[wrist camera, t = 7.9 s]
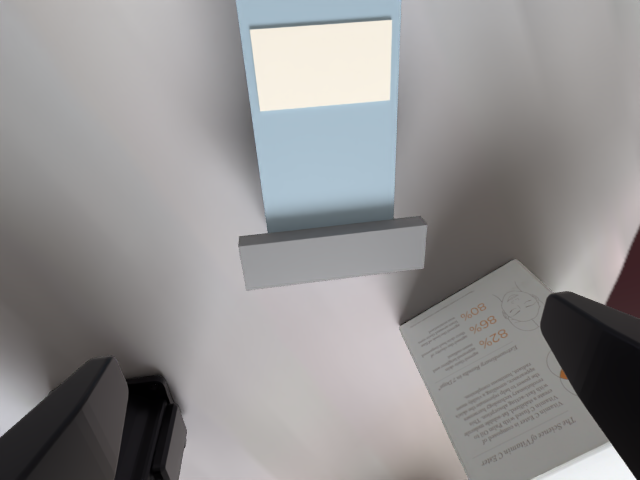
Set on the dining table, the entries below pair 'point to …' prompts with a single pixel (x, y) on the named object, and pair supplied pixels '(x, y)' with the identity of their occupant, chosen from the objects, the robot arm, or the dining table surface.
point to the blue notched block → (325, 141)
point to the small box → (506, 385)
